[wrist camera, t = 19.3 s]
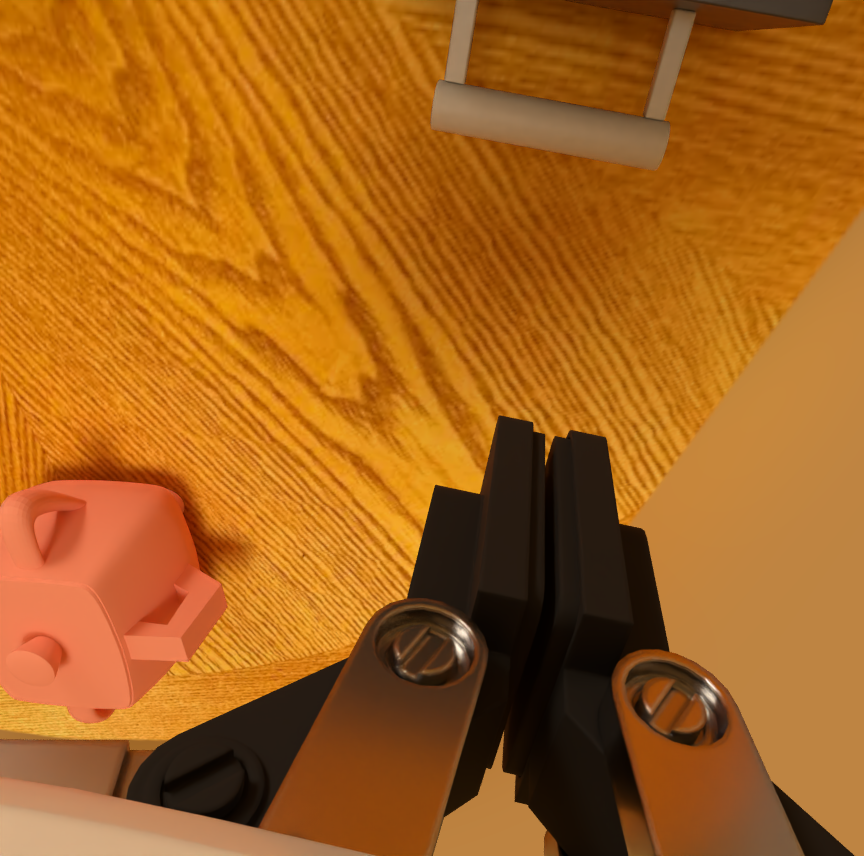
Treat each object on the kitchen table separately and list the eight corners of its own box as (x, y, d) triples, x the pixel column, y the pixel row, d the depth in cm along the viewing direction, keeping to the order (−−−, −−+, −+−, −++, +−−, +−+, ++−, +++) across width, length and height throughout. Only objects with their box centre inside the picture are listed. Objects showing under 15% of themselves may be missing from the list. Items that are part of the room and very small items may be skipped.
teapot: (-4, 526, 40) (-147, 654, 32) (104, 406, 35) (-31, 521, 27) (156, 645, 43) (65, 791, 35) (276, 551, 38) (204, 694, 30)
